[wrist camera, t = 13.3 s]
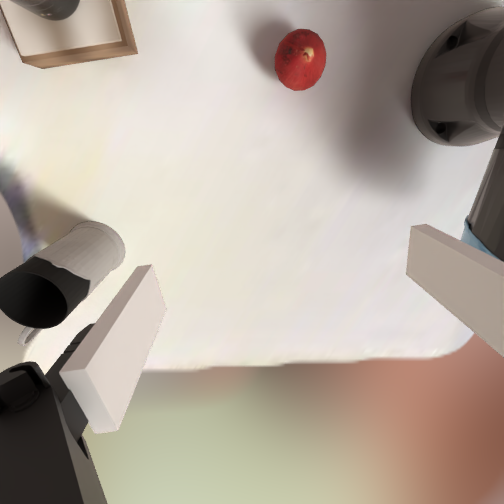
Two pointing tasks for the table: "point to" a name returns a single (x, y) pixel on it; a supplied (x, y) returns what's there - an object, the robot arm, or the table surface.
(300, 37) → the onion
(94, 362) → the robot arm
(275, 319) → the table surface
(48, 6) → the supplement bottle
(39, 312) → the glass holder
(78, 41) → the plinth
